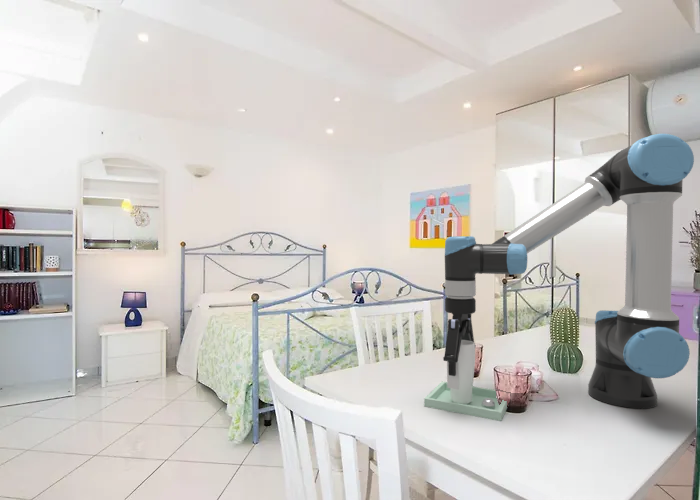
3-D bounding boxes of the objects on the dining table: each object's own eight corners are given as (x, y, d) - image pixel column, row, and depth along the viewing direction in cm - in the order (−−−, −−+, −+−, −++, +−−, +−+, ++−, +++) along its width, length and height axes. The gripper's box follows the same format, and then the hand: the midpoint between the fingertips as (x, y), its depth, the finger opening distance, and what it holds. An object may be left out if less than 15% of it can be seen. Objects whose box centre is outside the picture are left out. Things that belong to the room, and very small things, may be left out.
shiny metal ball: (496, 410, 98) (496, 397, 98) (494, 415, 95) (494, 401, 95) (482, 408, 99) (482, 395, 99) (480, 412, 97) (480, 399, 97)
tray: (510, 401, 105) (510, 392, 105) (501, 423, 92) (500, 412, 92) (442, 390, 114) (442, 381, 114) (424, 408, 101) (424, 398, 101)
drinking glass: (476, 407, 100) (476, 345, 100) (447, 404, 101) (447, 344, 102) (474, 397, 107) (473, 340, 107) (447, 395, 108) (447, 338, 108)
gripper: (458, 291, 117) (458, 366, 117) (430, 301, 95) (430, 392, 95) (485, 293, 113) (485, 369, 113) (462, 303, 91) (463, 398, 91)
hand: (460, 380), depth 104 cm, fingers open, 13 cm apart
